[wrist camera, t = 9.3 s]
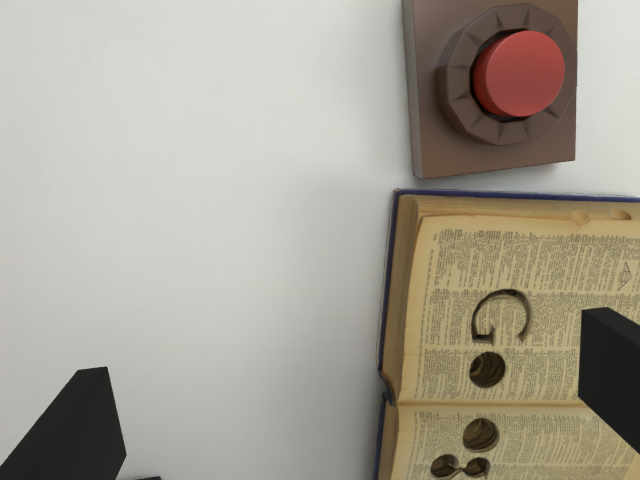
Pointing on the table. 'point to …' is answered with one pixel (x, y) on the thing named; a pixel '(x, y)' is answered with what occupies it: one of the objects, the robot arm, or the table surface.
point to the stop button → (519, 74)
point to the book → (499, 334)
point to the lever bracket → (154, 479)
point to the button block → (458, 93)
